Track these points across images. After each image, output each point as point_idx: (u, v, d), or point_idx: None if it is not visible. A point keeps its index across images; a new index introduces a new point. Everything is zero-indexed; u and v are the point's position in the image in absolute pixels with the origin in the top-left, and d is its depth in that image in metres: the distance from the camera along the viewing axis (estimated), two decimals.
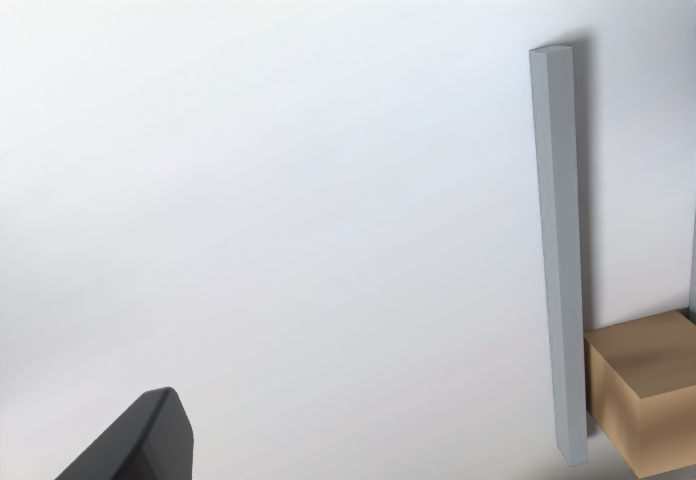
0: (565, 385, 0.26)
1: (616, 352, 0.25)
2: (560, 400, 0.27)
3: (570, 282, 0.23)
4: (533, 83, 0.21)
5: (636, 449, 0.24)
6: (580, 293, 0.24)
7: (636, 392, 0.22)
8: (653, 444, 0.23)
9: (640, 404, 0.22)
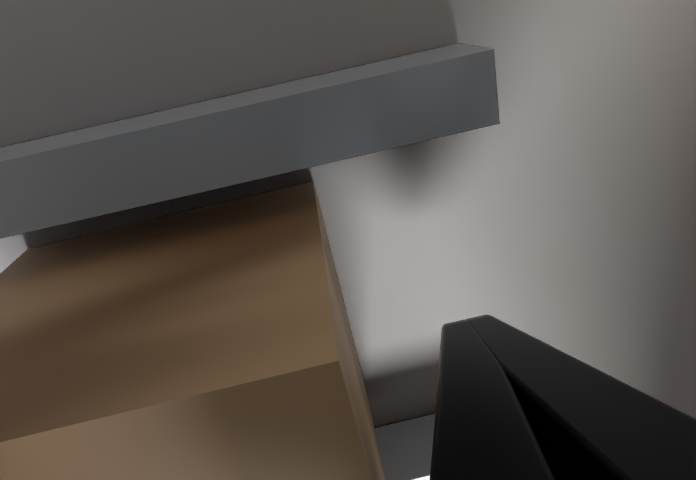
0: None
1: None
2: None
3: None
4: None
5: None
6: None
7: None
8: None
9: None
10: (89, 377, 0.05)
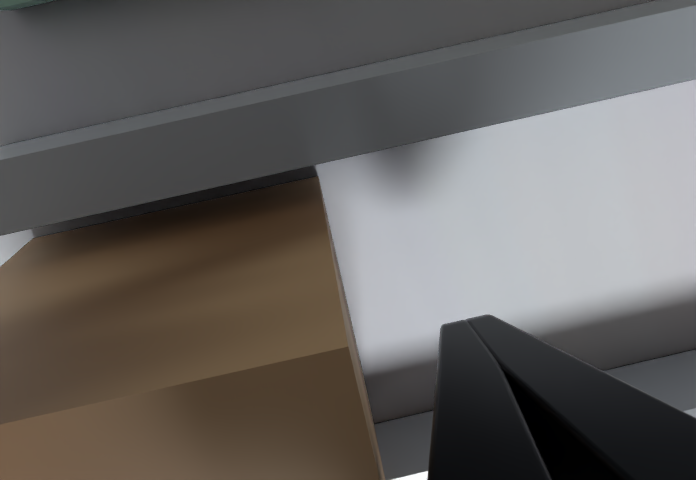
0: None
1: None
2: None
3: None
4: None
5: None
6: (694, 411, 0.10)
7: None
8: None
9: None
10: (100, 360, 0.05)
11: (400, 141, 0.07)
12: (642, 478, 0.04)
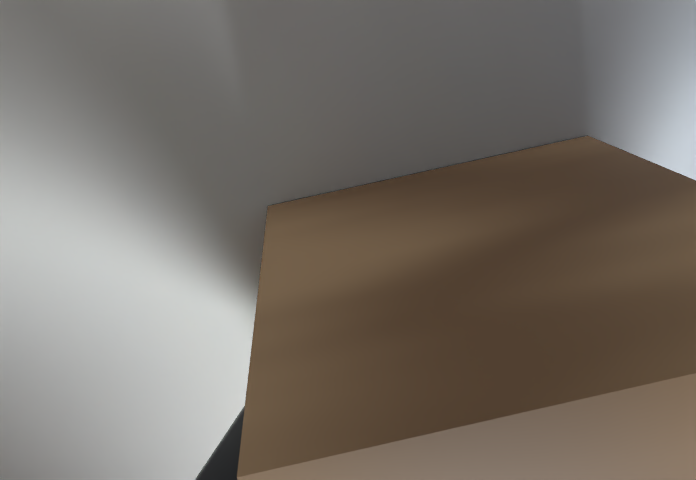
0: None
1: None
2: None
3: None
4: None
5: None
6: None
7: None
8: None
9: None
10: (590, 328, 0.04)
11: None
12: None
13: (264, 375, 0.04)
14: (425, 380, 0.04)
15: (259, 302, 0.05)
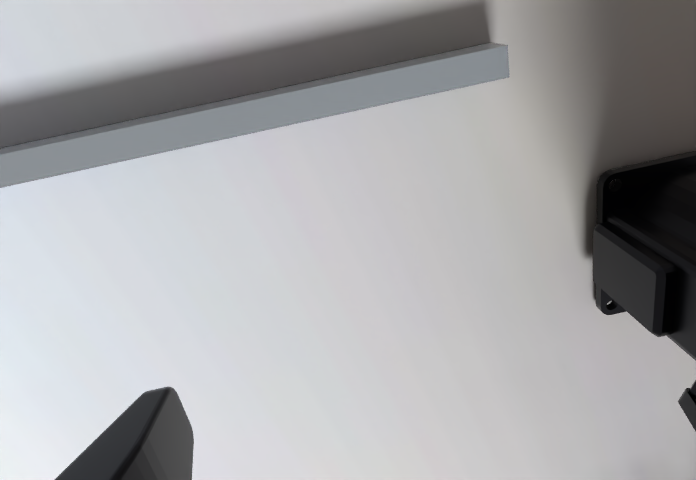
0: (332, 115, 0.17)
1: None
2: None
3: (145, 139, 0.16)
4: None
5: None
6: (165, 121, 0.16)
7: None
8: None
9: None
10: None
11: None
12: None
13: None
14: None
15: None
